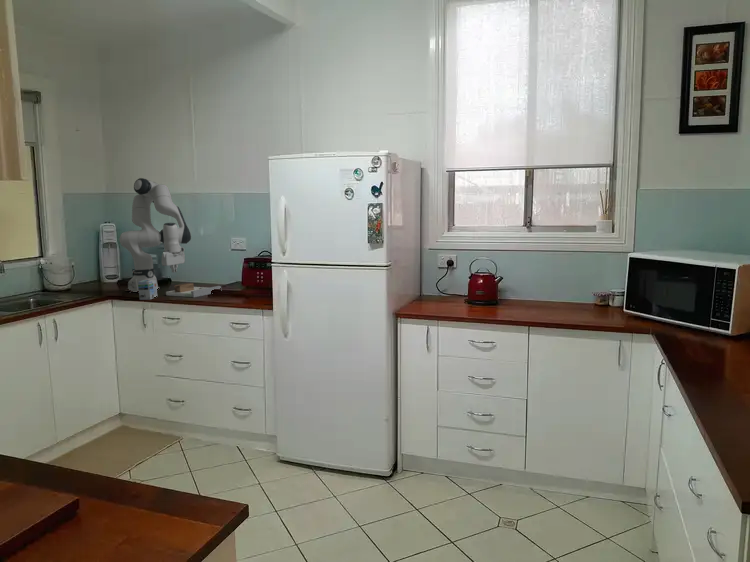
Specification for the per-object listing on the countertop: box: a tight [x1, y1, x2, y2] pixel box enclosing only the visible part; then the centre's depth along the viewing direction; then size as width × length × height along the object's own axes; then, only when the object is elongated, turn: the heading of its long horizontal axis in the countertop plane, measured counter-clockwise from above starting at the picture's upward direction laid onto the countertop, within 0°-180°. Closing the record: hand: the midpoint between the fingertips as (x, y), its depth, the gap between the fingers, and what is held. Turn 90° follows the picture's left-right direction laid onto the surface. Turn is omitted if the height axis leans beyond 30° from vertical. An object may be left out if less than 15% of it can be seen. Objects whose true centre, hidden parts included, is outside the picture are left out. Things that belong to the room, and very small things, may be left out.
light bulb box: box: [138, 278, 158, 301], centre depth 338 cm, size 11×7×11 cm, turn 179°
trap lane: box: [165, 285, 222, 298], centre depth 349 cm, size 25×21×4 cm
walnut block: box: [174, 282, 195, 292], centre depth 347 cm, size 5×10×4 cm, turn 147°
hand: (174, 272), depth 350 cm, fingers closed
